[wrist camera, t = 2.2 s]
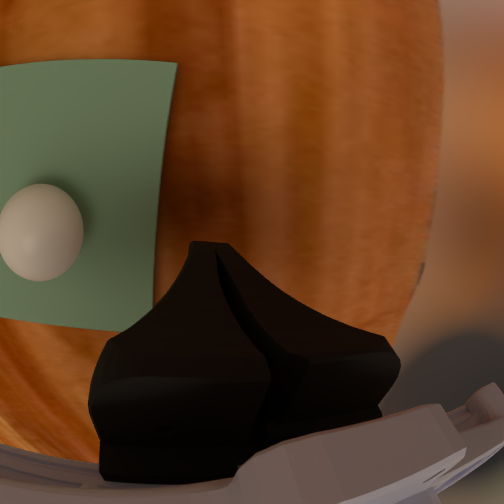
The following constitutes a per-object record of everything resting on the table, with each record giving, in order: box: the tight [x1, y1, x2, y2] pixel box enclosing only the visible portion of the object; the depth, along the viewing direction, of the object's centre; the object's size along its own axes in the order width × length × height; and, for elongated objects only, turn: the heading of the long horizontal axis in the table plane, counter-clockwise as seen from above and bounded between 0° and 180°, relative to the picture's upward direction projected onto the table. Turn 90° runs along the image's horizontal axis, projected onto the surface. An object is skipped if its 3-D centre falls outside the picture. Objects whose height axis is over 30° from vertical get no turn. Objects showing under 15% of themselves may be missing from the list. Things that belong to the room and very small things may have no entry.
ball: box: [0, 184, 84, 281], centre depth 11 cm, size 4×4×4 cm
